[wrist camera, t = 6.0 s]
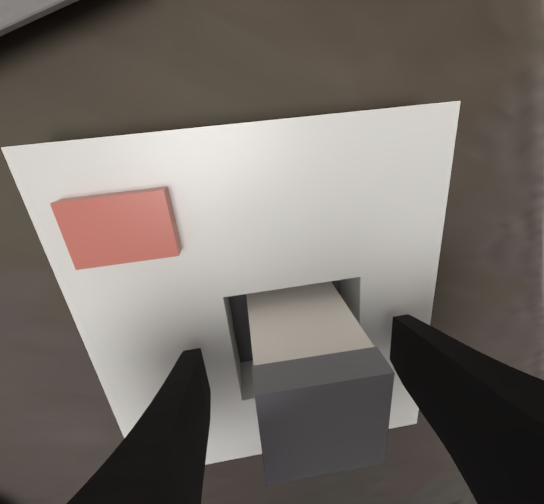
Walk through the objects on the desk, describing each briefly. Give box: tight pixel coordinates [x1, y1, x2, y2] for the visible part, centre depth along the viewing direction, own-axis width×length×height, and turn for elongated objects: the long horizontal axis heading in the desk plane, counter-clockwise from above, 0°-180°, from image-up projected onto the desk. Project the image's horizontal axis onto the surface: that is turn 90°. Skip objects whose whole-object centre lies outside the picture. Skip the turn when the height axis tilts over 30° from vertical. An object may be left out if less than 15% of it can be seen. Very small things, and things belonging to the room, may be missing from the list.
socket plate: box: [1, 101, 461, 465], centre depth 12 cm, size 14×13×3 cm
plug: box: [246, 281, 395, 486], centre depth 11 cm, size 4×4×6 cm
